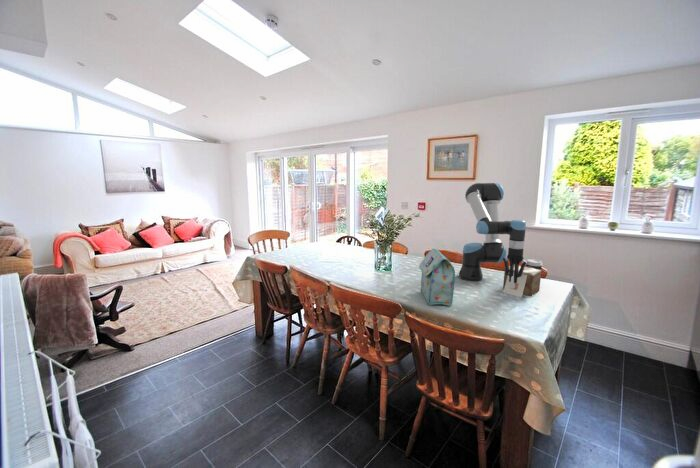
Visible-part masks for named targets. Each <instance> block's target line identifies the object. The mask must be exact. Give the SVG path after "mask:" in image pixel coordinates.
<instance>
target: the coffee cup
mask: <svg viewBox="0 0 700 468" xmlns="http://www.w3.org/2000/svg"><path fill="white" fill-rule="evenodd" d="M526 261H527V262H528V263H527V264H526V265H525V267H528V268H533V269H538V270H542V268H543V266H544V265H543V264H544V263H543V262H542V260H539V259H531V258H529V259H527V260H526Z"/></svg>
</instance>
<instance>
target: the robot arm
mask: <svg viewBox="0 0 700 468" xmlns="http://www.w3.org/2000/svg"><path fill="white" fill-rule="evenodd" d="M464 195H465V197H464V198H465V200H466V202H467V203H468V204H469V206H470V207H471V209H472V212H473V215H474V217H475V219H476V226H475V229H476V230H475V231H476V233H477V234H479V235H485V240H484V242H483V243H480V242H469V243H465V244H464V245H463V248H462V261H461V262H462V263H461V264H462V265H461V268H460V270H459V272H458V278H460V279H462V280H464V281H471V282H478V281H479V282H480V281H482V280H483V277H484V275H483V271H482V268H481V267H482V266H481V265H482V264H500V263H503V262H504V271H505V270H506V275H509V282H511V284H510V288H512V289H513V288H515V283H517V278H518V277H521V276H522V273H523V270H524V268H525V267H526V264H527V263H528V262H527V260H525V258H524V247H525V238H526V231H527V226H526V225H527V221H525V220H523V219H512V220H504V221H503V220H502V221H500V220H499V219H500V217H499V204H501V201H502V200H503V199H504V188H503V186H502V185H501V183H497V182H495V183H494V182H487V183H486V182H485V183H484V182H476V183H473V184H471V185H470V186H469V187H467V189H466V191H465V194H464ZM500 235H509V239H508V241H509V242H508V248H507V247H506V246H505V245H503V242H502V241H501V240H500V239H501V237H500ZM507 250H508V251H507ZM514 265H515V270H514ZM509 266H510V270H509ZM519 266H521V268H520V270H519ZM518 270H519V273H518ZM513 272H514V276H513Z"/></svg>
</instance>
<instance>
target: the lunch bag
mask: <svg viewBox="0 0 700 468" xmlns="http://www.w3.org/2000/svg"><path fill="white" fill-rule="evenodd" d="M418 268H419V270H420V271H421V281H420V291H421V293H422V295H423V297H424V298H425V300H426V302H427V304H428V305H430V306H431V305H432V306H433V305H444V306H448V307H449V306H452V305H453V302H454V301H453V300H454V290H455V283H456V282H455V281H456V270H455V267H454V266H453V264H452V262H451V261H450V260H449V259H448V258H447V257H446V256H445V255H444V254H443V253H441V251H440V250H439V249H436V248H431V250H429V251H428V253H427V254H426V255H425V256H424V258H423V259H422V260H421V261H420V263H419V266H418Z"/></svg>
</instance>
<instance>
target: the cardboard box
mask: <svg viewBox="0 0 700 468" xmlns="http://www.w3.org/2000/svg"><path fill="white" fill-rule="evenodd" d="M520 268H521V265H519V270H520ZM509 270H510V265H509ZM514 270H515V264H514ZM519 270H518V273H519ZM503 272H504V273H503V285H502V289H503V290H504V288H505V284H506V280H507V276H508V275H506V270H505V269H504V271H503ZM522 274H524V275H527V279H526V283H525V287H524V291H523V295H526V296H529V297H533V296H534V295H535V294H537V293H539V292H540V287H541V278H542V269H541V270H538V269H533V268H528V267H526V266H525V268H524V270H523V273H522Z"/></svg>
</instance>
